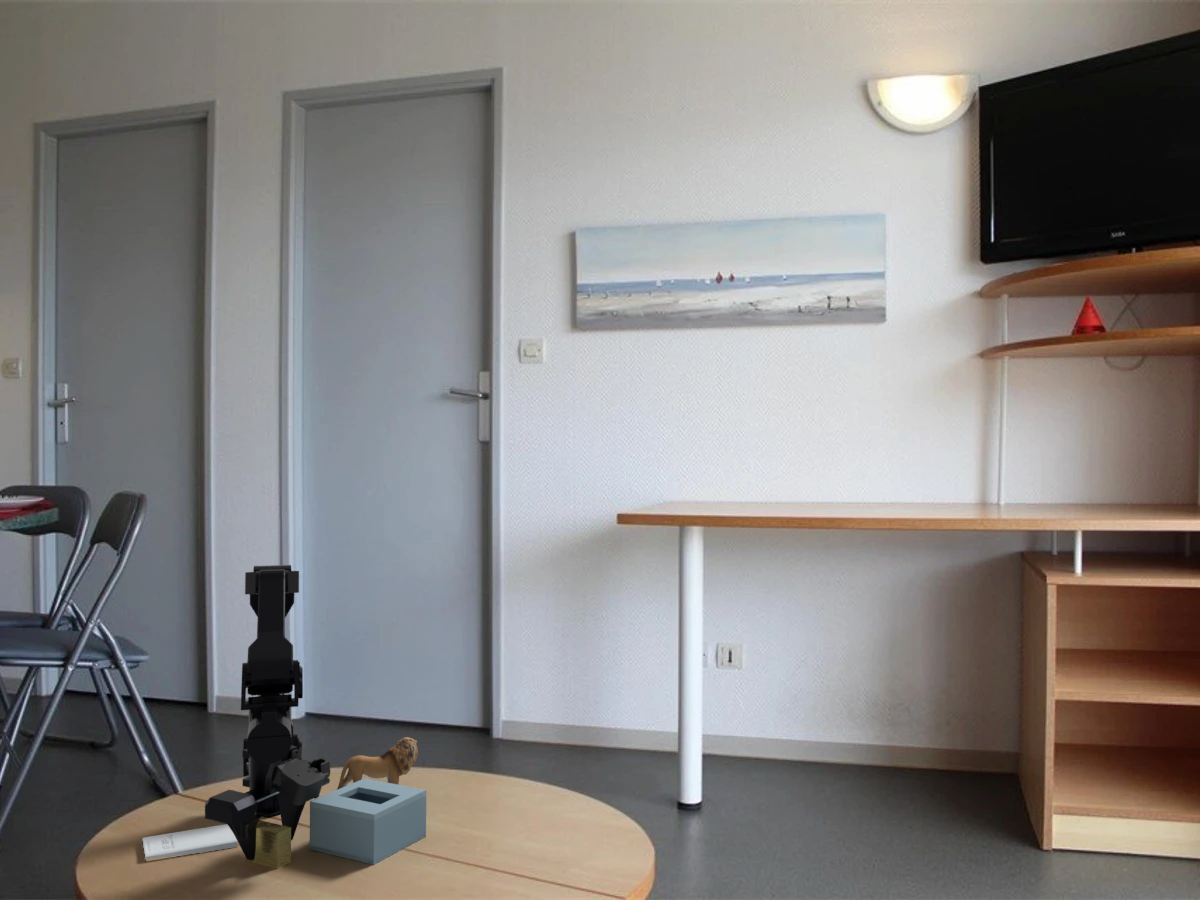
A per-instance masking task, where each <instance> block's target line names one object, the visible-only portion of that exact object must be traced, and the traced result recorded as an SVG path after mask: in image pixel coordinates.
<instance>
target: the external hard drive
mask: <svg viewBox="0 0 1200 900" xmlns="http://www.w3.org/2000/svg"><path fill="white" fill-rule="evenodd" d="M142 841H143V845H142V849H143V848H144V851H143V855H144V854H145V858H144V860H145V859H151V858H162V857H171V856H177V855H178V856H179V855H187V854H194V855H196V854H195V853H200V854H202V853H201V852H206V853H209V851H212V852H216V851H215V850H218V851H222V849H224V850H229V849H228V848H230V849H233V848H234V847H236V848H238V846H239V843H238V841H237V839H236V837H235V835H234V834H233V832H232V830H231V829H230V827H229V826H228V825H227V824H225V823H223V824H218V825H214V826H213V825H212V826H208V827H202V828H201V827H200V828H194V829H188V830H182V831H176V832H175V831H174V832H169V833H163V834H159V835H158V834H156V835H151V836H144V837H142V838H141V842H142Z"/></svg>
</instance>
